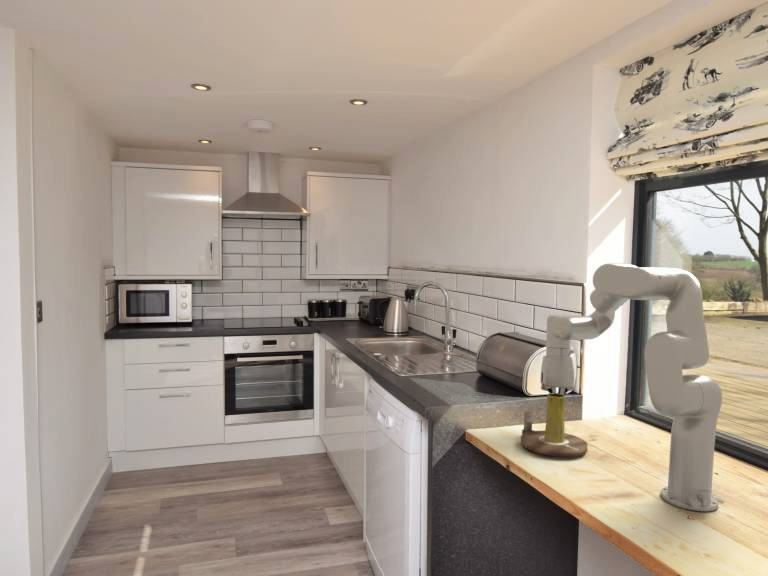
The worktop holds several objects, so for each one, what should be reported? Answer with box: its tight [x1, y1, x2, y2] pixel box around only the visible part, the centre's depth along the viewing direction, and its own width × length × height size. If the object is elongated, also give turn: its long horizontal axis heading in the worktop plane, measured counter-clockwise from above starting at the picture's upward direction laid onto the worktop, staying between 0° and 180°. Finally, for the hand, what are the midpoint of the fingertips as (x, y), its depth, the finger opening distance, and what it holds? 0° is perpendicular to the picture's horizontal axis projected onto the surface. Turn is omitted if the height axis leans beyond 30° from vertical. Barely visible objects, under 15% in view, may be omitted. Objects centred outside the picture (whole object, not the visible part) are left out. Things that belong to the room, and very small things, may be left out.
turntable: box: [520, 410, 589, 458], centre depth 175 cm, size 23×20×8 cm
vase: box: [544, 392, 566, 443], centre depth 174 cm, size 6×6×14 cm
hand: (556, 407), depth 183 cm, fingers closed
